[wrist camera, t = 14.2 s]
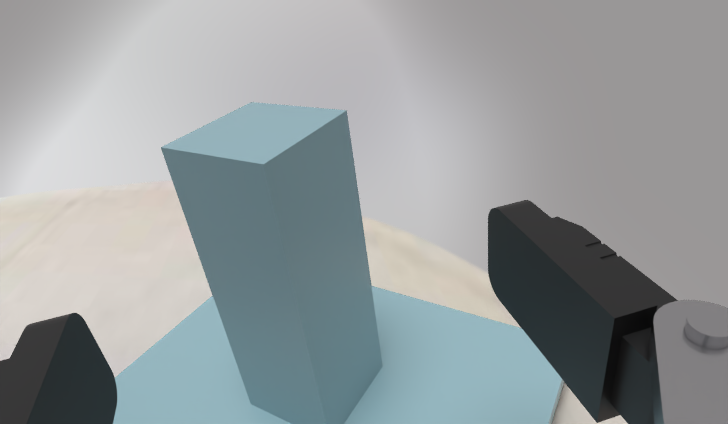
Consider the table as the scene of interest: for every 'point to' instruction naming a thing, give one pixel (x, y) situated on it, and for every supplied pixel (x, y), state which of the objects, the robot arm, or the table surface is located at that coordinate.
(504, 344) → the lid
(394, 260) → the table surface
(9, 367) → the robot arm
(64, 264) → the table surface
